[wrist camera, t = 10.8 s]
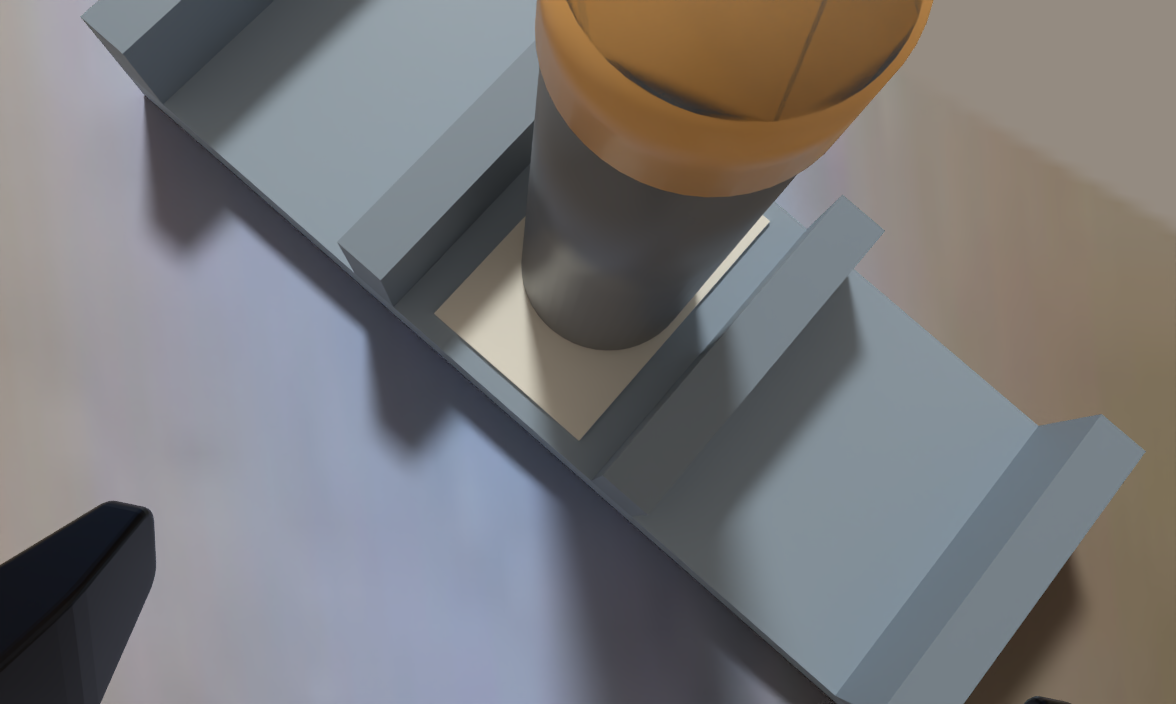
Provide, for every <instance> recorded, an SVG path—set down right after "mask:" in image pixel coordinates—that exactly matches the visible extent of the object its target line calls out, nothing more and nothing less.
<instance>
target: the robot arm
mask: <svg viewBox="0 0 1176 704" xmlns="http://www.w3.org/2000/svg"><path fill="white" fill-rule="evenodd" d="M155 571H156V551H155V531H154V518H153V514H152V512H151V511H150V510H149V509H148V508H146V507H142V506H137V505H133V504H128V503H123V502H118V501H108V502H105V503H103V504H101V505H99V506H97V507H95V508H94V509H92V510H90V511H89V512H87V513H86V514H84V515H82V516H81V517H79V518H77V519H76V520H74V521H72V522H71V523H69V524H67V525H66V526H64V527H62V528H61V529H59V530H57V531H56V532H54V533H52V534H51V535H49V536H47V537H46V538H44V539H42V540H41V541H39V542H38V543H36V544H34V545H33V546H31V547H29V548H28V549H26V550H24V551H23V552H21V553H19V554H18V555H16V556H14V557H13V558H11V559H9V560H8V561H6V562H4V563H3V564H1V565H0V704H100V703H101V701H102V698H103V696H104V694H105V692H106V689H107V687H108V685H109V683H110V680H111V678H112V676H113V674H114V671H115V669H116V667H117V664H118V662H119V660H120V658H121V655H122V653H123V651H124V649H125V646H126V644H127V642H128V639H129V637H130V635H131V633H132V630H133V628H134V626H135V624H136V621H137V619H138V617H139V614H140V612H141V610H142V608H143V605H144V603H145V601H146V599H147V596H148V594H149V592H150V589H151V587H152V584H153V581H154V577H155ZM1024 704H1071V703H1068V702H1064V701H1060V700H1055V699H1050V698H1045V697H1041V696H1035V697H1032V698H1030V699H1028V700H1027V701H1026V702H1025V703H1024Z"/></svg>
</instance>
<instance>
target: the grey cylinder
mask: <svg viewBox="0 0 1176 704" xmlns="http://www.w3.org/2000/svg"><path fill="white" fill-rule="evenodd" d="M932 3H933V0H537V4H536V17H535V41H536V51H537V56H538V62H539V75H538V86H537V97H536V108H535V119H534V130H533V141H532V152H531V163H530V173H529V184H528V195H527V206H526V217H525V228H524V239H523V250H522V261H521V268H522V278H523V284H524V288H525V291H526V294H527V297H528V299H529V301H530V303H531V305H532V307H533V308H534V310H535V311H536V313H537V314H538V316H539V317H540V318H541V319H542V320H543V322H544V323H545V324H546V325H547V326H548V327H549V328H551V329H552V330H553V331H554V332H555V333H557V334H558V335H560V336H561V337H563V338H564V339H566V340H568V341H570V342H572V343H574V344H577V345H580V346H583V347H586V348H591V349H595V350H621V349H627V348H631V347H634V346H637V345H640V344H642V343H644V342H647V341H649V340H651V339H652V338H654V337H655V336H657V335H658V334H660V333H661V332H662V331H663V330H664V329H666V328H667V327H668V326H669V324H670V323H671V322H672V321H673V320H674V319H675V318H676V317H677V315H678V314H679V313H680V312H681V311H682V309H683V308H684V307H685V306H686V305H687V304H688V302H689V301H690V300H691V299H692V298H693V297H694V295H695V294H696V293H697V292H698V291H699V289H700V288H701V287H702V286H703V285H704V284H705V282H706V281H707V280H708V279H709V278H710V276H711V275H712V274H713V273H714V272H715V271H716V269H717V268H718V267H719V266H720V265H721V263H722V262H723V261H724V260H725V259H726V258H727V256H728V255H729V254H730V253H731V252H732V251H733V249H734V248H735V247H736V246H737V245H738V243H739V242H740V241H741V240H742V239H743V238H744V236H745V235H746V234H747V233H748V232H749V230H750V229H751V228H752V227H753V226H754V225H755V223H756V222H757V221H758V220H759V219H760V218H761V216H762V215H763V214H764V213H765V212H766V210H767V209H768V208H769V207H770V206H771V205H772V203H773V202H774V201H775V200H776V199H777V197H778V196H779V195H780V194H781V193H782V192H783V190H784V189H785V188H786V187H787V186H788V184H789V183H790V182H791V181H792V180H793V179H794V177H795V176H796V175H797V174H798V173H800V172H802V171H803V170H805V169H806V168H808V167H809V166H810V165H812V164H813V163H814V162H815V161H816V160H818V159H819V158H820V157H821V156H822V155H824V154H825V153H826V151H827V150H828V149H829V148H830V147H831V146H832V145H833V144H834V143H835V141H836V140H837V139H838V138H839V137H840V136H841V135H842V133H843V132H844V131H845V130H846V129H847V128H848V127H849V125H850V124H851V123H852V122H853V121H854V120H855V119H856V117H857V116H858V115H859V114H860V113H861V112H862V111H863V109H864V108H865V107H866V106H867V105H868V104H869V103H870V102H871V100H872V99H873V98H874V97H875V96H876V95H877V94H878V92H879V91H880V90H881V89H882V88H883V87H884V86H885V84H886V83H887V82H888V81H889V80H890V79H891V78H892V76H893V75H894V74H895V73H896V72H897V71H898V70H899V68H900V67H901V66H902V65H903V64H904V62H905V61H906V59H907V58H908V56H909V55H910V53H911V52H912V50H913V49H914V47H915V46H916V44H917V42H918V40H919V38H920V36H921V34H922V31H923V29H924V27H925V25H926V23H927V19H928V16H929V13H930V10H931V6H932Z"/></svg>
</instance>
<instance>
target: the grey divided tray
mask: <svg viewBox="0 0 1176 704" xmlns="http://www.w3.org/2000/svg"><path fill="white" fill-rule="evenodd" d="M536 4H537V0H99V1H97V2H96V3H95V4H94V5H93V6H92V7H91V8H90V9H88V10H87V11H86V12H85V13H84V14H83V15H82V16H81V18H82V19H83V20H84V22H85V23H86V24H87V25H88V27H89V28H90V29H91V30H92V31H93V33H94V34H95V35H96V36H97V38H98V39H99V40H100V41H101V42H102V44H103V45H104V46H105V47H106V49H107V50H108V51H109V52H110V53H111V55H112V56H113V57H114V58H115V60H116V61H117V62H118V63H119V64H120V66H121V67H122V68H123V69H124V71H125V72H126V73H127V74H128V76H129V77H130V78H131V79H132V80H133V82H134V83H135V84H136V85H137V87H138V88H139V89H140V90H141V91H142V93H143V94H144V95H145V96H147V97H148V98H149V99H150V100H151V101H152V102H153V103H155V104H156V105H157V106H158V107H159V108H160V109H161V110H162V111H164V112H165V113H166V114H167V115H168V116H169V117H170V118H172V119H173V120H174V121H175V122H176V123H177V124H178V125H180V126H181V127H182V128H183V129H184V130H185V131H186V132H187V133H189V134H190V135H191V136H192V137H193V138H194V139H195V140H197V141H198V142H199V143H200V144H201V145H202V146H203V147H205V148H206V149H207V150H208V151H209V152H210V153H211V154H213V155H214V156H215V157H216V158H217V159H218V160H219V161H220V162H222V163H223V164H224V165H225V166H226V167H227V168H228V169H230V170H231V171H232V172H233V173H234V174H235V175H236V176H238V177H239V178H240V179H241V180H242V181H243V182H244V183H245V184H247V185H248V186H249V187H250V188H251V189H252V190H253V191H255V192H256V193H257V194H258V195H259V196H260V197H261V198H263V199H264V200H265V201H266V202H267V203H268V204H269V205H270V206H272V207H273V208H274V209H275V210H276V211H277V212H278V213H280V214H281V215H282V216H283V217H284V218H285V219H286V220H288V221H289V222H290V223H291V224H292V225H293V226H294V227H296V228H297V229H298V230H299V231H300V232H301V233H302V234H303V235H305V236H306V237H307V238H308V239H309V240H310V241H311V242H313V243H314V244H315V245H316V246H317V247H318V248H319V249H321V250H322V251H323V252H324V253H325V254H326V255H327V256H328V257H330V258H331V259H332V260H333V261H334V262H335V263H336V264H338V265H339V266H340V267H341V268H342V269H343V270H344V271H346V272H347V273H348V274H349V275H350V276H351V277H352V278H354V279H355V280H356V281H357V282H358V283H359V284H360V285H361V286H363V287H364V288H365V289H366V290H367V291H368V292H369V293H371V294H372V295H373V296H374V297H375V298H376V299H377V300H379V301H380V302H381V303H382V304H383V305H384V306H385V307H386V308H388V309H389V310H390V311H391V312H392V313H393V314H394V315H396V316H397V317H398V318H399V319H400V320H401V321H402V322H404V323H405V324H406V325H407V326H408V327H409V328H410V329H411V330H413V331H414V332H415V333H416V334H417V335H418V336H419V337H421V338H422V339H423V340H424V341H425V342H426V343H427V344H429V345H430V346H431V347H432V348H433V349H434V350H435V351H437V352H438V353H439V354H440V355H441V356H442V357H443V358H444V359H446V360H447V361H448V362H449V363H450V364H451V365H452V366H454V367H455V368H456V369H457V370H458V371H459V372H460V373H462V374H463V375H464V376H465V377H466V378H467V379H468V380H469V381H471V382H472V383H473V384H474V385H475V386H476V387H477V388H479V389H480V390H481V391H482V392H483V393H484V394H485V395H487V396H488V397H489V398H490V399H491V400H492V401H493V402H494V403H496V404H497V405H498V406H499V407H500V408H501V409H502V410H504V411H505V412H506V413H507V414H508V415H509V416H510V417H512V418H513V419H514V420H515V421H516V422H517V423H518V424H520V425H521V426H522V427H523V428H524V429H525V430H526V431H527V432H529V433H530V434H531V435H532V436H533V437H534V438H535V439H537V440H538V441H539V442H540V443H541V444H542V445H543V446H545V447H546V448H547V449H548V450H549V451H550V452H551V453H552V454H554V455H555V456H556V457H557V458H558V459H559V460H560V461H562V462H563V463H564V464H565V465H566V466H567V467H568V468H570V469H571V470H572V471H573V472H574V473H575V474H576V475H577V476H579V477H580V478H581V479H582V480H583V481H584V482H585V483H587V484H588V485H589V486H590V487H591V488H592V489H593V490H595V491H596V492H597V493H598V494H599V495H600V496H601V497H603V498H604V499H605V500H606V501H607V502H608V503H609V504H610V505H612V506H613V507H614V508H615V509H616V510H617V511H618V512H620V513H621V514H622V515H623V516H624V517H625V518H626V519H628V520H629V521H630V522H631V523H632V524H633V525H634V526H635V527H637V528H638V529H639V530H640V531H641V532H642V533H643V534H645V535H646V536H647V537H648V538H649V539H650V540H651V541H653V542H654V543H655V544H656V545H657V546H658V547H659V548H660V549H662V550H663V551H664V552H665V553H666V554H667V555H668V556H670V557H671V558H672V559H673V560H674V561H675V562H676V563H678V564H679V565H680V566H681V567H682V568H683V569H684V570H686V571H687V572H688V573H689V574H690V575H691V576H692V577H693V578H695V579H696V580H697V581H698V582H699V583H700V584H701V585H703V586H704V587H705V588H706V589H707V590H708V591H709V592H711V593H712V594H713V595H714V596H715V597H716V598H717V599H718V600H720V601H721V602H722V603H723V604H724V605H725V606H726V607H728V608H729V609H730V610H731V611H732V612H733V613H734V614H736V615H737V616H738V617H739V618H740V619H741V620H742V621H743V622H745V623H746V624H747V625H748V626H749V627H750V628H751V629H753V630H754V631H755V632H756V633H757V634H758V635H759V636H761V637H762V638H763V639H764V640H765V641H766V642H767V643H769V644H770V645H771V646H772V647H773V648H774V649H775V650H776V651H778V652H779V653H780V654H781V655H782V656H783V657H784V658H786V659H787V660H788V661H789V662H790V663H791V664H792V665H794V666H795V667H796V668H797V669H798V670H799V671H800V672H801V673H803V674H804V675H805V676H806V677H807V678H808V679H809V680H811V681H812V682H813V683H814V684H815V685H816V686H817V687H819V688H820V689H821V690H822V691H823V692H824V693H825V694H827V695H828V696H829V697H830V698H831V699H832V700H833V701H834V702H836V703H837V704H964V703H965V701H966V700H967V698H968V697H969V696H970V694H971V693H972V691H973V690H974V689H975V687H976V686H977V685H978V683H979V682H980V680H981V679H982V678H983V676H984V675H985V673H986V672H987V671H988V669H989V668H990V666H991V665H992V664H993V662H994V661H995V660H996V658H997V657H998V655H999V654H1000V653H1001V651H1002V650H1003V648H1004V647H1005V646H1006V644H1007V643H1008V642H1009V640H1010V639H1011V637H1012V636H1013V635H1014V633H1015V632H1016V630H1017V629H1018V628H1019V626H1020V625H1021V624H1022V622H1023V621H1024V619H1025V618H1026V617H1027V615H1028V614H1029V612H1030V611H1031V610H1032V608H1033V607H1034V605H1035V604H1036V603H1037V601H1038V600H1039V599H1040V597H1041V596H1042V594H1043V593H1044V592H1045V590H1046V589H1047V587H1048V586H1049V585H1050V583H1051V582H1052V581H1053V579H1054V578H1055V576H1056V575H1057V574H1058V572H1059V571H1060V569H1061V568H1062V567H1063V565H1064V564H1065V563H1066V561H1067V560H1068V558H1069V557H1070V556H1071V554H1072V553H1073V551H1074V550H1075V549H1076V547H1077V546H1078V544H1079V543H1080V542H1081V540H1082V539H1083V538H1084V536H1085V535H1086V533H1087V532H1088V531H1089V529H1090V528H1091V526H1092V525H1093V524H1094V522H1095V521H1096V520H1097V518H1098V517H1099V515H1100V514H1101V513H1102V511H1103V510H1104V508H1105V507H1106V506H1107V504H1108V503H1109V502H1110V500H1111V499H1112V497H1113V496H1114V495H1115V493H1116V492H1117V490H1118V489H1119V488H1120V486H1121V485H1122V484H1123V482H1124V481H1125V479H1126V478H1127V477H1128V475H1129V474H1130V472H1131V471H1132V470H1133V468H1134V467H1135V465H1136V464H1137V463H1138V461H1139V460H1140V459H1141V457H1142V456H1143V454H1144V453H1145V452H1146V451H1145V450H1143V449H1142V448H1141V447H1140V446H1139V445H1137V444H1136V443H1135V442H1134V441H1133V440H1132V439H1130V438H1129V437H1128V436H1127V435H1126V434H1124V433H1123V432H1122V431H1121V430H1120V429H1119V428H1117V427H1116V426H1115V425H1114V424H1113V423H1111V422H1110V421H1109V420H1108V419H1107V418H1106V417H1104V416H1103V415H1102V414H1100V415H1095V416H1089V417H1084V418H1079V419H1073V420H1068V421H1063V422H1057V423H1052V424H1047V425H1041V426H1038V425H1037V424H1035V423H1034V422H1033V421H1032V420H1031V419H1029V418H1028V417H1027V416H1026V415H1025V414H1024V413H1022V412H1021V411H1020V410H1019V409H1018V408H1017V407H1015V406H1014V405H1013V404H1012V403H1011V402H1009V401H1008V400H1007V399H1006V398H1005V397H1004V396H1002V395H1001V394H1000V393H999V392H998V391H997V390H995V389H994V388H993V387H992V386H991V385H989V384H988V383H987V382H986V381H985V380H984V379H982V378H981V377H980V376H979V375H978V374H977V373H975V372H974V371H973V370H972V369H971V368H970V367H968V366H967V365H966V364H965V363H964V362H962V361H961V360H960V359H959V358H958V357H957V356H955V355H954V354H953V353H952V352H951V351H950V350H948V349H947V348H946V347H945V346H944V345H942V344H941V343H940V342H939V341H938V340H937V339H935V338H934V337H933V336H932V335H931V334H930V333H928V332H927V331H926V330H925V329H924V328H922V327H921V326H920V325H919V324H918V323H917V322H915V321H914V320H913V319H912V318H911V317H910V316H908V315H907V314H906V313H905V312H904V311H902V310H901V309H900V308H899V307H898V306H897V305H895V304H894V303H893V302H892V301H891V300H890V299H888V298H887V297H886V296H885V295H884V294H883V293H881V292H880V291H879V290H878V289H877V288H875V287H874V286H873V285H872V284H871V283H870V282H868V281H867V280H866V279H865V278H864V277H863V276H861V275H860V274H859V273H858V272H857V271H855V270H854V268H855V266H856V265H857V264H858V263H859V262H860V260H861V259H862V258H863V257H864V256H865V254H866V253H867V252H868V251H869V250H870V248H871V247H872V246H873V245H874V244H875V242H876V241H877V240H878V239H879V238H880V236H881V235H882V234H883V233H884V232H885V230H883V229H882V228H881V227H880V226H879V225H878V224H876V223H875V222H874V221H873V220H872V219H870V218H869V217H868V216H867V215H866V214H865V213H863V212H862V211H861V210H860V209H859V208H857V207H856V206H855V205H854V204H853V203H852V202H850V201H849V200H848V199H847V198H846V197H844V196H843V195H842V196H841V197H840V198H839V199H838V200H837V201H836V202H835V203H834V204H833V205H832V206H830V207H829V208H828V209H827V210H826V211H825V212H824V213H823V214H822V215H821V216H820V217H819V218H818V219H817V220H816V221H815V222H814V223H813V224H812V225H811V226H810V227H809V228H808V229H806V228H805V227H804V226H803V225H801V224H800V223H799V222H798V221H797V220H796V219H794V218H793V217H792V216H791V215H790V214H788V213H787V212H786V211H785V210H784V209H783V208H781V207H780V206H779V205H778V204H777V203H776V202H773V203H772V205H771V206H770V207H769V208H768V209H767V210H766V212H765V213H764V214H763V215H762V216H761V218H760V219H759V220H758V221H757V222H756V223H755V225H754V226H753V227H752V228H751V229H750V230H749V232H748V233H747V234H746V235H745V236H744V238H743V239H742V240H741V241H740V242H739V243H738V245H737V246H736V247H735V248H734V249H733V251H732V252H731V253H730V254H729V255H728V256H727V258H726V259H725V260H724V261H723V262H722V263H721V265H720V266H719V267H718V268H717V269H716V271H715V272H714V273H713V274H712V275H711V276H710V278H709V279H708V280H707V281H706V282H705V284H704V285H703V286H702V287H701V288H700V289H699V291H698V292H697V293H696V294H695V295H694V297H693V298H692V299H691V300H690V301H689V302H688V304H687V305H686V306H685V307H684V308H683V309H682V311H681V312H680V313H679V314H678V315H677V317H676V318H675V319H674V320H673V321H672V322H671V323H670V324H669V326H668V327H667V328H666V329H664V330H663V331H662V332H661V333H660V334H658V335H657V336H655V337H654V338H652V339H651V340H649V341H647V342H644V343H642V344H640V345H637V346H634V347H631V348H627V349H621V350H595V349H591V348H586V347H583V346H580V345H577V344H574V343H572V342H570V341H568V340H566V339H564V338H563V337H561V336H560V335H558V334H557V333H555V332H554V331H553V330H552V329H551V328H549V327H548V326H547V325H546V324H545V323H544V322H543V320H542V319H541V318H540V317H539V316H538V314H537V313H536V311H535V310H534V308H533V307H532V305H531V303H530V301H529V299H528V297H527V294H526V291H525V288H524V284H523V278H522V268H521V261H522V250H523V239H524V228H525V217H526V206H527V195H528V184H529V173H530V163H531V152H532V141H533V130H534V119H535V108H536V97H537V86H538V75H539V62H538V56H537V51H536V41H535V17H536Z"/></svg>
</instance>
